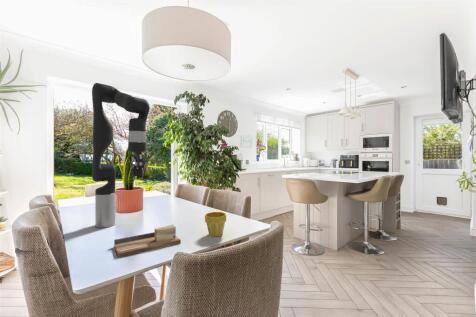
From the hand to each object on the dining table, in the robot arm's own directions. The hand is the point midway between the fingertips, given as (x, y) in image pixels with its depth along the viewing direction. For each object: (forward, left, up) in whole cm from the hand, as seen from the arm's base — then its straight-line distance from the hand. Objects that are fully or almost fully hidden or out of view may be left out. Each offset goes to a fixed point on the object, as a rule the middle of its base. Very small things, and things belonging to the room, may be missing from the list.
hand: (137, 177), depth 103 cm
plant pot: (+16, +32, -28) cm, 46 cm away
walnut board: (+11, +2, -28) cm, 30 cm away
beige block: (+12, +9, -27) cm, 30 cm away
